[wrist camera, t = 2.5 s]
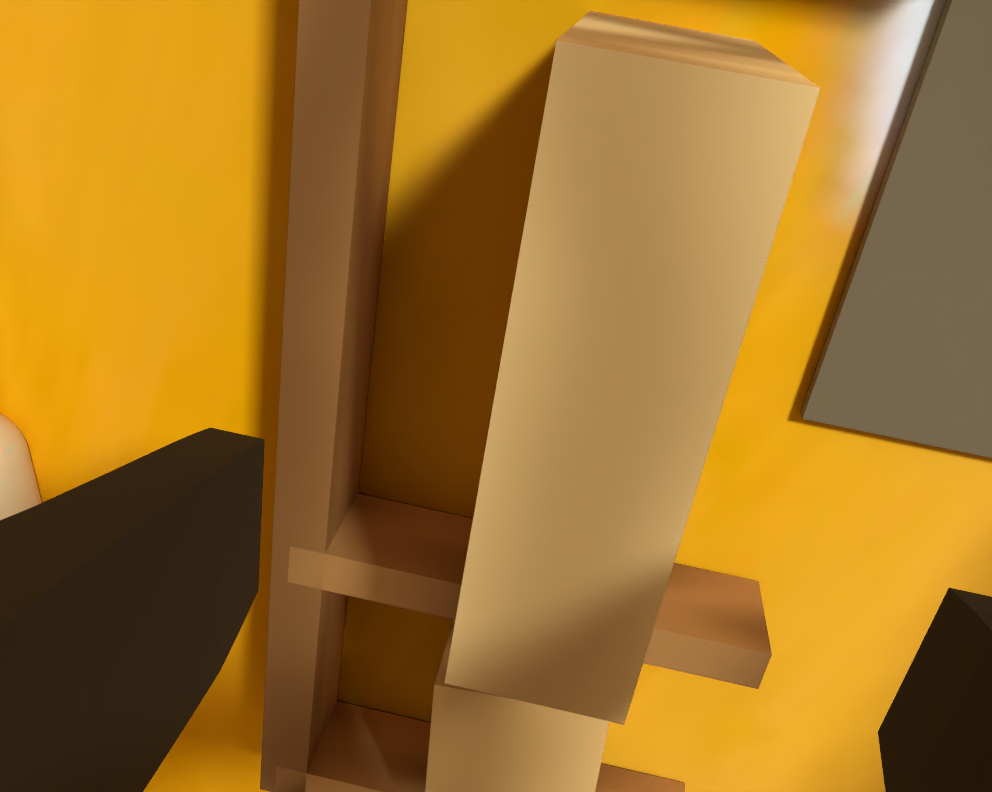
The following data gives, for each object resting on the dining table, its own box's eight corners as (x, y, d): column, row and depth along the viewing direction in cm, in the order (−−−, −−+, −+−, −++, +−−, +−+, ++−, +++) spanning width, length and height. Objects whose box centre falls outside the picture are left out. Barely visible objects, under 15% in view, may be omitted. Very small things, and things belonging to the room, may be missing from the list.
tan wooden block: (753, 39, 16) (820, 87, 10) (631, 495, 21) (623, 725, 14) (590, 10, 16) (556, 39, 10) (504, 468, 21) (444, 683, 15)
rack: (1028, -154, 14) (1098, -175, 12) (675, 807, 25) (677, 891, 22) (363, -261, 15) (313, -301, 13) (293, 716, 25) (260, 788, 23)
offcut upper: (613, 652, 21) (610, 717, 19) (590, 768, 22) (585, 838, 20) (452, 623, 21) (434, 684, 19) (441, 739, 23) (424, 805, 21)
